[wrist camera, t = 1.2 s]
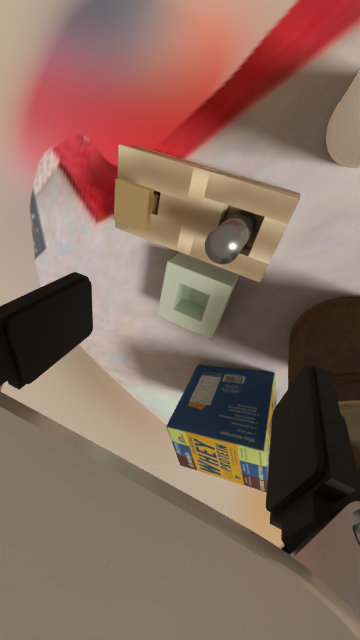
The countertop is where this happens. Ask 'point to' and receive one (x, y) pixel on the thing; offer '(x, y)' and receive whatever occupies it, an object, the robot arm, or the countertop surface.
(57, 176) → the countertop surface
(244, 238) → the silver cylinder
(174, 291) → the pale green square block
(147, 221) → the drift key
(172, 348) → the countertop surface
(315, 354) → the wooden container
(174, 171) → the socket block
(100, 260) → the countertop surface
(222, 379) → the protein box
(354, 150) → the water bottle
